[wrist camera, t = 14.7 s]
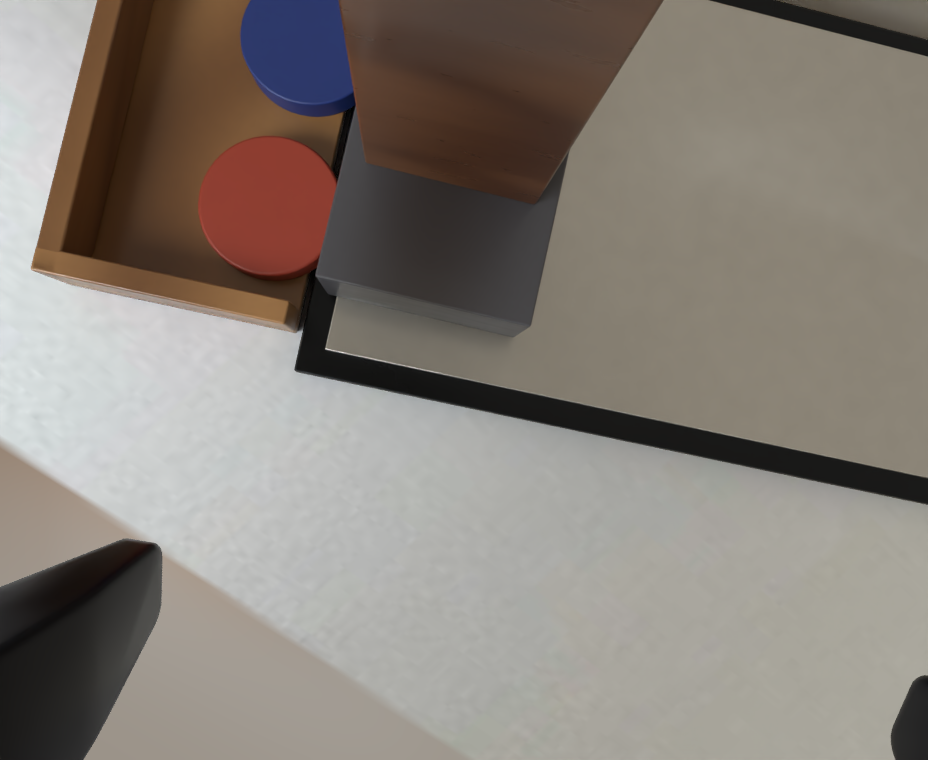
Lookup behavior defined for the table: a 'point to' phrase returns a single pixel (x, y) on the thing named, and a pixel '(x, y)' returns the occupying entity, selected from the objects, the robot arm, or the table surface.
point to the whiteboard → (714, 261)
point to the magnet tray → (164, 160)
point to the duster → (464, 148)
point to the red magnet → (267, 207)
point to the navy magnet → (298, 55)
